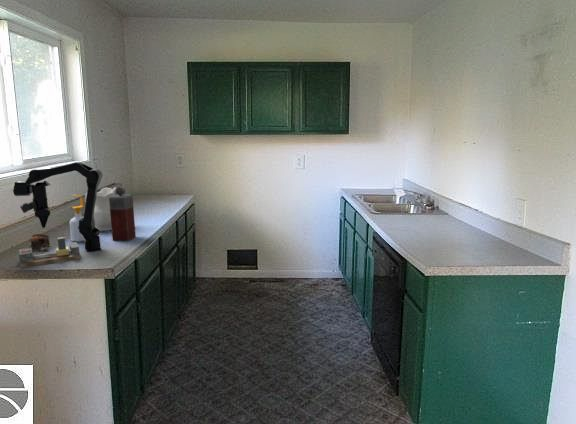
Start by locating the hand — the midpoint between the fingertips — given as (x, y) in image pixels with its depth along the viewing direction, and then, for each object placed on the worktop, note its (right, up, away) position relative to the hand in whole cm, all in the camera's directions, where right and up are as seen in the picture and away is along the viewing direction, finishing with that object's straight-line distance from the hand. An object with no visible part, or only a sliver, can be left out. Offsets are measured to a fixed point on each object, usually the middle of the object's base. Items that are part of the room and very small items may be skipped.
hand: (43, 227), depth 214 cm
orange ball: (+1, -12, -16) cm, 20 cm away
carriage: (+13, -12, -9) cm, 20 cm away
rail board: (+10, -14, -10) cm, 20 cm away
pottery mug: (-6, -11, +9) cm, 15 cm away
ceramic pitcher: (+9, -3, +49) cm, 50 cm away
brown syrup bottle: (+29, -7, +27) cm, 41 cm away
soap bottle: (+6, -7, +25) cm, 27 cm away
